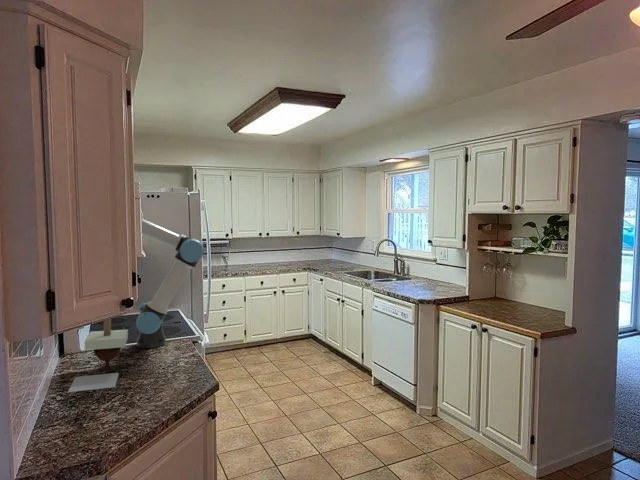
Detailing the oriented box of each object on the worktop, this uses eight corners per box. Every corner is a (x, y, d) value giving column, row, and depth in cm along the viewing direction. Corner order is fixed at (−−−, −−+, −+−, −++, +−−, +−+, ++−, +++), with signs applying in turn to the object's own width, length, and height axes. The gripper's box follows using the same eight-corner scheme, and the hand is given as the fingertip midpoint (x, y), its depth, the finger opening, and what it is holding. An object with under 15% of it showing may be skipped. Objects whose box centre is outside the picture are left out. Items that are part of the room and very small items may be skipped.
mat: (119, 373, 190) (119, 372, 190) (115, 388, 174) (115, 386, 174) (75, 378, 184) (75, 376, 184) (67, 393, 169) (67, 392, 169)
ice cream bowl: (110, 374, 190) (110, 341, 189) (88, 372, 192) (88, 339, 191) (125, 366, 200) (125, 334, 199) (104, 364, 202) (104, 333, 202)
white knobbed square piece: (127, 337, 206) (127, 310, 205) (124, 347, 191) (125, 318, 190) (90, 340, 200) (90, 312, 200) (84, 350, 185) (84, 320, 185)
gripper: (66, 237, 204) (66, 281, 205) (123, 237, 213) (123, 279, 214) (69, 236, 211) (70, 278, 212) (124, 236, 220) (124, 277, 221)
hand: (96, 279), depth 213 cm, fingers open, 13 cm apart
